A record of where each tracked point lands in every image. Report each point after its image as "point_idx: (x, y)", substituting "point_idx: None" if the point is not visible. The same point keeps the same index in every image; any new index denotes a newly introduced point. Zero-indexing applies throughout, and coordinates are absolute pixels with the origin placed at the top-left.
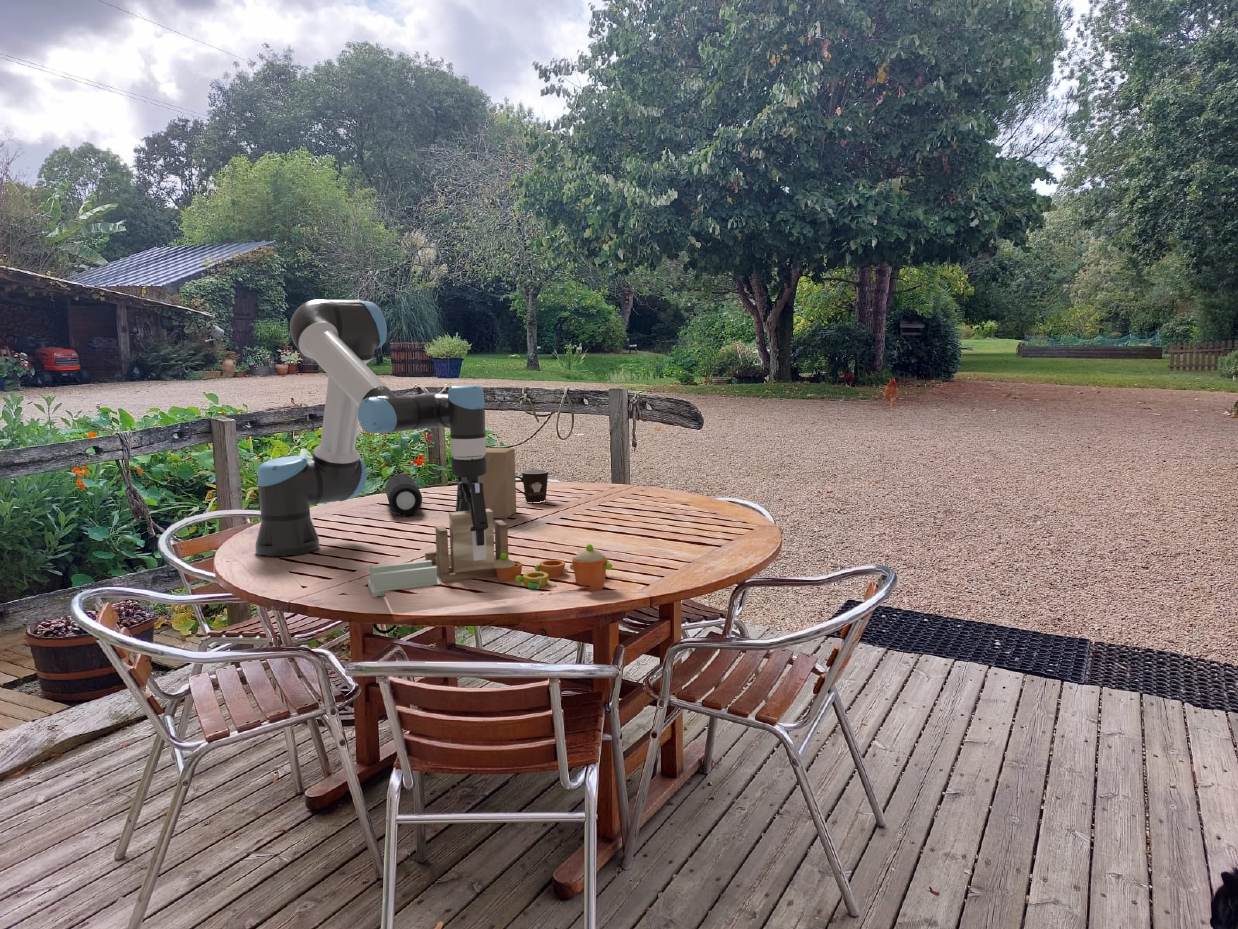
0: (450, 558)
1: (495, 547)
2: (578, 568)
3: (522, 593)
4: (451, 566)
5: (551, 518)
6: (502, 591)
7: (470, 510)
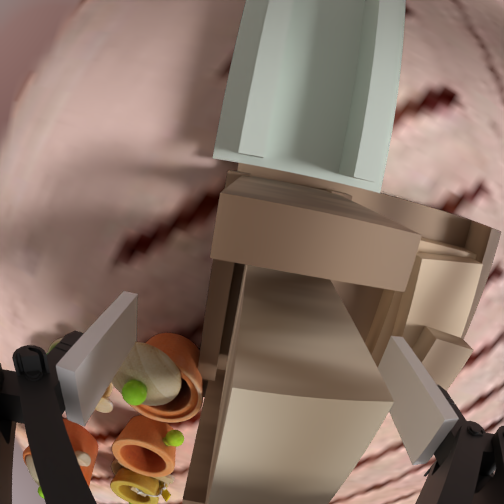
0: (407, 284)
1: None
2: None
3: None
4: None
5: None
6: (102, 306)
7: (66, 485)
